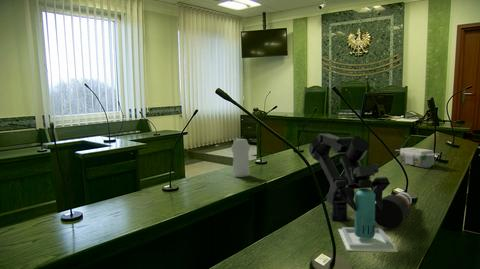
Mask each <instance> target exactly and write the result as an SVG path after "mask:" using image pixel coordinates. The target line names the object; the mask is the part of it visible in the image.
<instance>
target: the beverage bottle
mask: <svg viewBox="0 0 480 269" xmlns="http://www.w3.org/2000/svg"><path fill="white" fill-rule="evenodd" d="M372 182H373V180H371V179H360V180H359V187H362V188H360V189H356V191H355V195H354V202H355V204H356V207H357V211H354V223H353V225H354V227H353V228H354V229H355V231H354V232H355V235H356V236H357V237H359V238H363V239H371V238H373V237H374V235H375V228H376V222H375V210H376V205H375V204H376V201H375V196H376V194H375V193H374V192H373V191H372V190H371V187H372Z"/></svg>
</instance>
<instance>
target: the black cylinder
mask: <svg viewBox="0 0 480 269" xmlns="http://www.w3.org/2000/svg"><path fill="white" fill-rule="evenodd" d="M411 196H412V195H410V194H409V193H407V192H404V191H402V192H399V193H397V194H389V195H388V194H387V195H386V196H384V197H382V203H383V208H382V209H380V208H379V207H378V205H377V203H376V202H375V205H376V210H375V224H377V226H380V228H383V229H388V230H394V229H397V228H398V227H399V226H400V225H402V223H403V222H404V221H405V220H406V219H407V217H408V216H409V215H408V214H409V212H410V211H409V210H410V209H409V207H410V205H411V204H412V199H413V198H412V197H411Z"/></svg>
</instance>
